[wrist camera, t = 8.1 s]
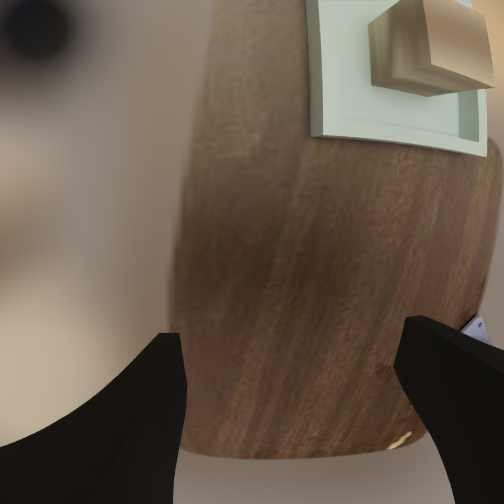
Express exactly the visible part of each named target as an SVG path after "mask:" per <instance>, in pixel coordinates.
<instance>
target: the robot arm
mask: <svg viewBox="0 0 504 504" xmlns="http://www.w3.org/2000/svg"><path fill="white" fill-rule="evenodd" d="M393 367H394V369H395V372H396V374H397V377H398V379H399V381H400V384H401V386H402V388H403V390H404V392H405V394H406V395H407V397H408V399H409V400H410V402H411V404H412V405H413V407H414V409H415V410H416V412H417V413H418V415H419V417H420V418H421V420H422V422H423V423H424V425H425V427H426V428H427V430H428V432H429V433H430V435H431V437H432V439H433V441H434V443H435V445H436V447H437V449H438V452H439V454H440V456H441V459H442V461H443V464H444V467H445V470H446V472H447V476H448V478H449V481H450V484H451V488H452V492H453V496H454V500H455V504H504V350H501V349H499V348H496V347H494V346H492V345H491V343H490V339H489V336H488V333H487V330H486V327H485V324H484V321H483V318H482V316H480V315H476V316H475V317H474V318H473V319H472V320H471V321H470V322H469V323H468V324H467V325H466V326H465V327H464V328H463V329H462V330H461V331H458V330H455V329H453V328H451V327H449V326H447V325H445V324H442V323H440V322H438V321H435V320H433V319H430V318H428V317H424V316H421V315H419V316H412V317H406V319H405V323H404V328H403V332H402V336H401V340H400V344H399V348H398V351H397V355H396V359H395V362H394V366H393ZM186 399H187V380H186V374H185V368H184V362H183V355H182V349H181V342H180V335H179V333H159V334H158V335H157V336H156V337H155V338H154V339H153V340H152V341H151V342H150V343H149V344H148V345H147V346H146V347H145V348H144V349H143V350H142V351H141V353H140V354H139V355H138V356H137V357H136V358H135V359H134V360H133V361H132V362H131V363H130V364H129V365H128V366H127V367H126V368H125V369H124V370H123V371H122V372H121V373H120V374H119V375H118V376H117V377H115V378H114V379H113V380H112V381H111V382H110V383H109V384H108V385H107V386H106V387H104V388H103V389H102V390H101V391H100V392H99V393H97V394H96V395H95V396H93V397H92V398H91V399H90V400H88V401H87V402H85V403H84V404H83V405H81V406H80V407H78V408H77V409H76V410H74V411H73V412H71V413H70V414H68V415H66V416H65V417H63V418H61V419H60V420H58V421H56V422H54V423H53V424H51V425H49V426H47V427H46V428H44V429H42V430H40V431H38V432H36V433H34V434H32V435H29V436H28V437H25V438H23V439H21V440H18V441H16V442H13V443H11V444H8V445H5V446H2V447H0V504H173V487H174V476H175V469H176V463H177V457H178V452H179V446H180V441H181V435H182V430H183V424H184V419H185V413H186Z"/></svg>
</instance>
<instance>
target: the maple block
mask: <svg viewBox="0 0 504 504" xmlns="http://www.w3.org/2000/svg"><path fill="white" fill-rule="evenodd" d="M367 26H368V37H369V50H370V66H371V86H377V87H383V88H388V89H393V90H398V91H403V92H408V93H412V94H417V95H421V96H425V97H432V96H437V95H443V94H450V93H456V92H463V91H471V90H479V89H487V88H495V87H494V76H493V67H492V59H491V52H490V45H489V39H488V34H487V29H486V23H485V19H484V15H482V14H480V13H478V12H477V11H475V10H473V9H471V8H469V7H467V6H465V5H463V4H460V3H458V2H456V1H454V0H400V1H398V2H397V3H396V4H394V5H393V6H391V7H390V8H389V9H387V10H386V11H385V12H383V13H382V14H381V15H379V16H378V17H377V18H375V19H374V20H373V21H372V22H370V23H369V24H368V25H367Z"/></svg>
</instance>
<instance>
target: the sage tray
mask: <svg viewBox="0 0 504 504" xmlns="http://www.w3.org/2000/svg"><path fill="white" fill-rule="evenodd" d="M398 1H400V0H306V14H307V32H308V56H309V91H310V137H324V138H340V139H353V140H364V141H375V142H384V143H393V144H401V145H409V146H416V147H423V148H430V149H436V150H442V151H448V152H454V153H459V154H466V155H474V156H482V157H487V110H486V93H485V89H479V90H471V91H463V92H456V93H450V94H443V95H437V96H432V97H425V96H421V95H417V94H412V93H408V92H403V91H398V90H393V89H388V88H383V87H377V86H371V66H370V50H369V37H368V26H367V25H368V24H369V23H370V22H372V21H373V20H374V19H375V18H377V17H378V16H379V15H381V14H382V13H383V12H385V11H386V10H387V9H389V8H390V7H391V6H393V5H394V4H396V3H397V2H398ZM454 1H456V2H458V3H460V4H463V5H465V6H467V7H469V8H471V9H473V6H472V2H471V1H470V0H454Z"/></svg>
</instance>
